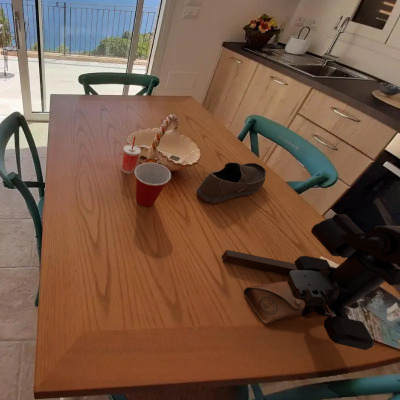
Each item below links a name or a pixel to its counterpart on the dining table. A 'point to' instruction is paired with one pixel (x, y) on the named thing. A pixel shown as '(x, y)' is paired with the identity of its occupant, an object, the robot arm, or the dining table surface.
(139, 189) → the plastic cup
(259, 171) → the loafer
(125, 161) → the beverage cup
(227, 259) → the rail
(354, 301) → the robot arm
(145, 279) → the dining table surface
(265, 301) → the sunglasses case
